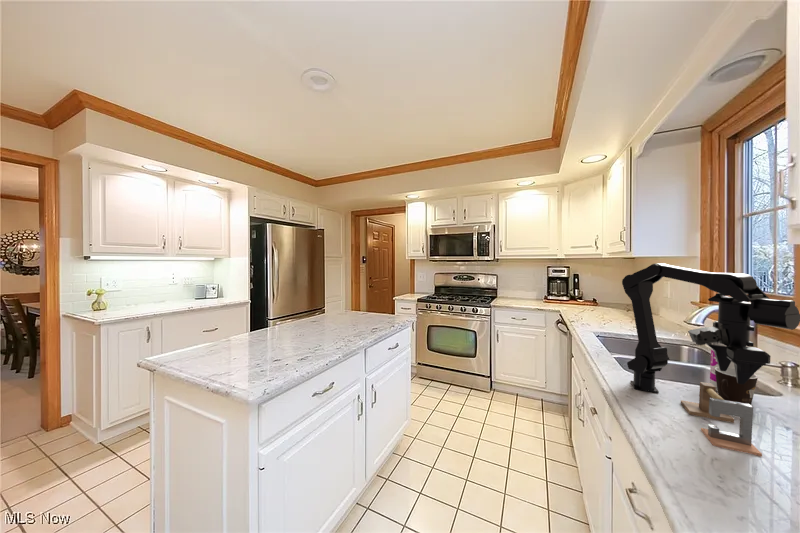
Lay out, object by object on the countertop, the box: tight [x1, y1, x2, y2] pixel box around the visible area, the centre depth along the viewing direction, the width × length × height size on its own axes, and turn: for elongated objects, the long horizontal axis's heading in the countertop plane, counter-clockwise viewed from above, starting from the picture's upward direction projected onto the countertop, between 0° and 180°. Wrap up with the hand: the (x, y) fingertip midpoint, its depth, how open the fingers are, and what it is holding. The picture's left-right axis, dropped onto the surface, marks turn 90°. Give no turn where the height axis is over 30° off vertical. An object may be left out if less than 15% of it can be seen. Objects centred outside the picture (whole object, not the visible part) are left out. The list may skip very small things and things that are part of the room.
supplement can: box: [709, 348, 735, 391], centre depth 97 cm, size 8×8×15 cm
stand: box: [680, 381, 735, 424], centre depth 81 cm, size 16×9×9 cm, turn 151°
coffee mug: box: [715, 367, 759, 406], centre depth 89 cm, size 12×9×10 cm
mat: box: [700, 427, 763, 457], centre depth 72 cm, size 7×8×1 cm
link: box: [707, 398, 754, 446], centre depth 71 cm, size 2×7×10 cm, turn 61°
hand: (731, 377), depth 79 cm, fingers open, 9 cm apart
